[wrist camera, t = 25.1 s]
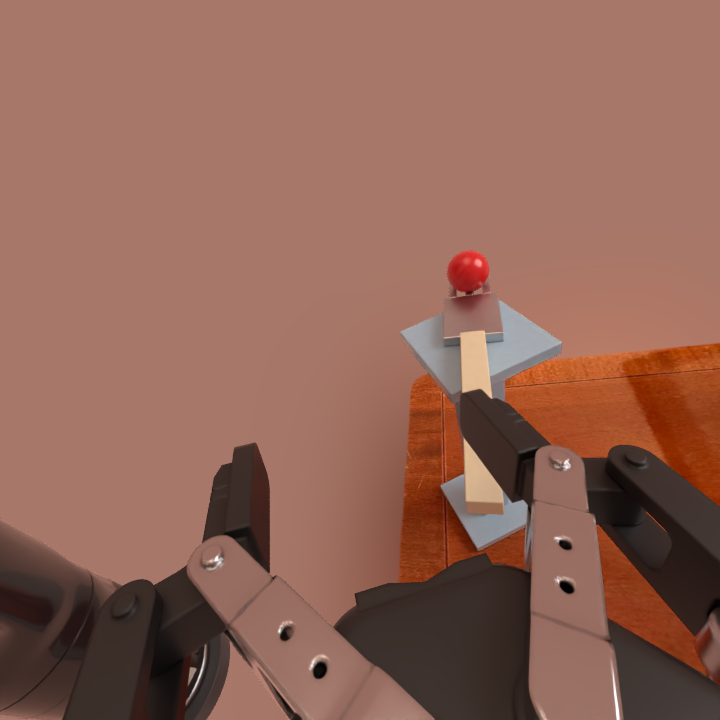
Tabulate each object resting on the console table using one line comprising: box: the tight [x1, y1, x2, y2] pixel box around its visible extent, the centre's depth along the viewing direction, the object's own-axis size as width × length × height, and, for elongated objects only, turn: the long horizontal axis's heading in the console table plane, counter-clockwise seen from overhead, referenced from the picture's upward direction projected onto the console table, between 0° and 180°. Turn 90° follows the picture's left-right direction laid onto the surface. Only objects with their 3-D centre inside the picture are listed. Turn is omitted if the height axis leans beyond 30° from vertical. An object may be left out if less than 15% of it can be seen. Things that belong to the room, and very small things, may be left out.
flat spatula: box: [443, 251, 504, 515], centre depth 22 cm, size 20×4×4 cm, turn 169°
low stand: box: [400, 299, 562, 551], centre depth 33 cm, size 8×8×25 cm
